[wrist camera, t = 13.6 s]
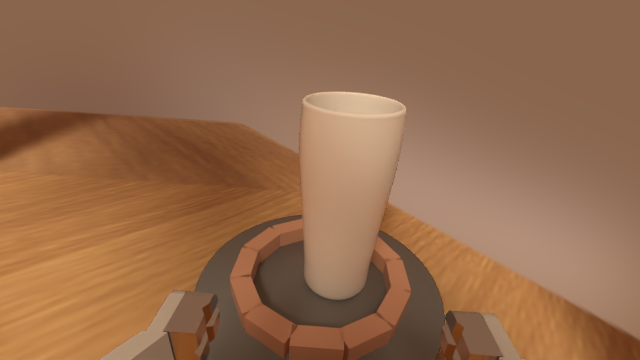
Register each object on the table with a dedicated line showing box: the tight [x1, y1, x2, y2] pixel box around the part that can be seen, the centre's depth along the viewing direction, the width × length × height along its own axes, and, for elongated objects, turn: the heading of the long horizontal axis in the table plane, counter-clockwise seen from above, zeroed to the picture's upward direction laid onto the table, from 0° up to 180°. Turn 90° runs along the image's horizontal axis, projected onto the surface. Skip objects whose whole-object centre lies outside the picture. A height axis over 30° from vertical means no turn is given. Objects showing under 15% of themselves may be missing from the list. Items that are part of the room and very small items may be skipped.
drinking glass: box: [299, 92, 407, 300], centre depth 23 cm, size 7×7×15 cm
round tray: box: [195, 215, 445, 360], centre depth 26 cm, size 20×20×2 cm
